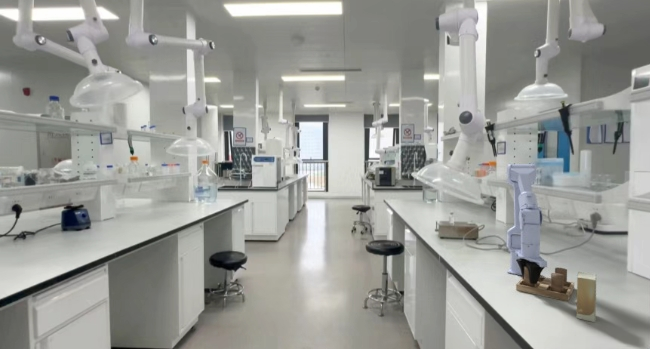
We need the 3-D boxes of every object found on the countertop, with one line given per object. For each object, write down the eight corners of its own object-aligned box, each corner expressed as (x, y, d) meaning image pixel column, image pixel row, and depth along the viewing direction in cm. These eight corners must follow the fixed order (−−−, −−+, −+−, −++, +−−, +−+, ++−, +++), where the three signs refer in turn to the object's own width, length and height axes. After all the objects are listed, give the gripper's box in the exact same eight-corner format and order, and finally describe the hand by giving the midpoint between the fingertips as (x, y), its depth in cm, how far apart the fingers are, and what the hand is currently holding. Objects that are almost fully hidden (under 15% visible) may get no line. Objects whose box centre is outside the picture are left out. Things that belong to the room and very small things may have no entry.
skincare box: (577, 311, 104) (578, 270, 103) (595, 315, 101) (596, 273, 101) (576, 318, 99) (576, 276, 98) (595, 323, 96) (596, 279, 96)
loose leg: (525, 284, 124) (525, 265, 123) (536, 286, 121) (536, 267, 121) (522, 287, 121) (522, 267, 121) (534, 289, 119) (534, 269, 119)
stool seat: (526, 279, 132) (526, 260, 132) (574, 288, 122) (574, 268, 122) (516, 290, 121) (516, 270, 121) (568, 301, 111) (568, 279, 111)
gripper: (507, 238, 128) (506, 275, 128) (532, 248, 113) (532, 289, 114) (525, 238, 128) (525, 274, 129) (553, 248, 114) (552, 288, 114)
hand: (529, 281), depth 121 cm, fingers closed on loose leg, 3 cm apart
